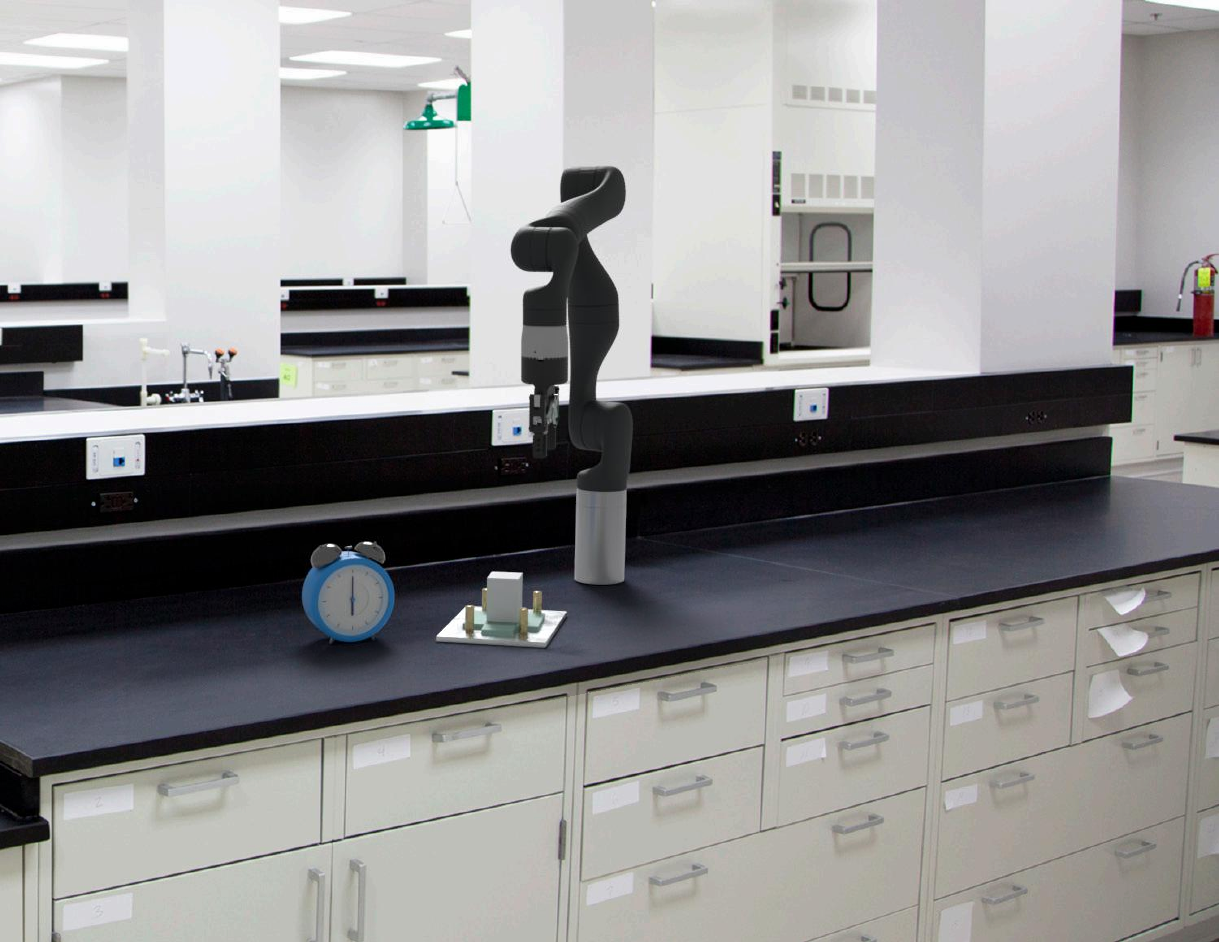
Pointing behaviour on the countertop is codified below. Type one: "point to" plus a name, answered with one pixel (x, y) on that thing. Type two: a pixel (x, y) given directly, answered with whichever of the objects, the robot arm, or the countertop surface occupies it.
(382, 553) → the alarm clock
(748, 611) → the countertop surface
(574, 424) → the robot arm
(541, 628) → the chassis plate
